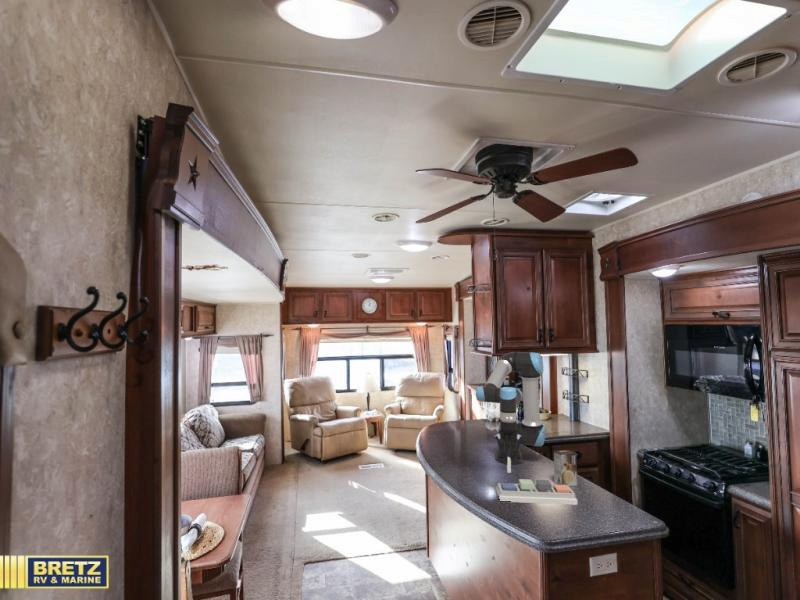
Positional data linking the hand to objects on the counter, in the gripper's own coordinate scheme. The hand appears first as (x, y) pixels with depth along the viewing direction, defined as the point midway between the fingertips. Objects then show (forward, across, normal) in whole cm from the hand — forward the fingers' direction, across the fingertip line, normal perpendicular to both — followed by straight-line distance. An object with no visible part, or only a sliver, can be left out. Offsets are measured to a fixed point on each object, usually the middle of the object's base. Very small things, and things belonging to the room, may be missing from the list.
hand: (508, 471), depth 200 cm
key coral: (+9, +24, 0) cm, 25 cm away
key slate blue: (+9, 0, 0) cm, 9 cm away
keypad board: (+11, +12, 0) cm, 16 cm away
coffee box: (+12, +31, +18) cm, 37 cm away
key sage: (+7, +8, 0) cm, 10 cm away
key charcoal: (+7, +16, 0) cm, 17 cm away
